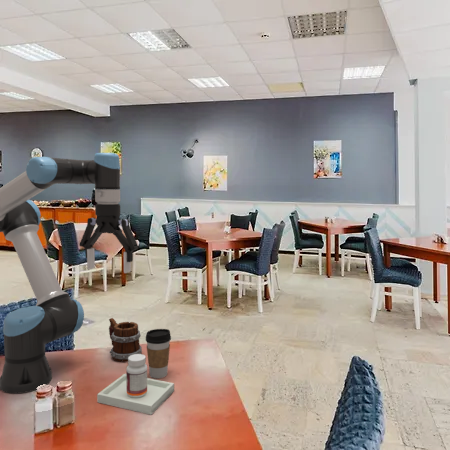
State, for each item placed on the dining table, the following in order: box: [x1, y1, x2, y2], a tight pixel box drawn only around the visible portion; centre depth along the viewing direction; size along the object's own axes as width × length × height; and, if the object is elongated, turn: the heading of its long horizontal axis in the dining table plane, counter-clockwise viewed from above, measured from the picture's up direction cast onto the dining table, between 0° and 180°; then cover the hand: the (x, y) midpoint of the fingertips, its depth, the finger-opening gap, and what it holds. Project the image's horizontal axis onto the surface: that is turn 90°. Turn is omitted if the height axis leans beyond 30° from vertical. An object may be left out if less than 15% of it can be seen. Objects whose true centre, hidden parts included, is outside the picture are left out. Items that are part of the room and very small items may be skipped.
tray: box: [96, 373, 175, 415], centre depth 121 cm, size 18×14×2 cm
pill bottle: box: [125, 353, 148, 398], centre depth 121 cm, size 6×6×11 cm
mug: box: [108, 317, 143, 363], centre depth 150 cm, size 12×14×15 cm
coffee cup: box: [145, 328, 172, 379], centre depth 135 cm, size 8×8×15 cm
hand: (108, 270), depth 127 cm, fingers open, 13 cm apart
